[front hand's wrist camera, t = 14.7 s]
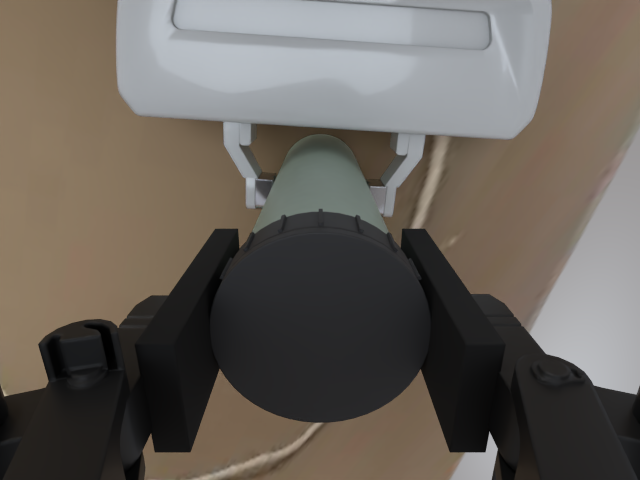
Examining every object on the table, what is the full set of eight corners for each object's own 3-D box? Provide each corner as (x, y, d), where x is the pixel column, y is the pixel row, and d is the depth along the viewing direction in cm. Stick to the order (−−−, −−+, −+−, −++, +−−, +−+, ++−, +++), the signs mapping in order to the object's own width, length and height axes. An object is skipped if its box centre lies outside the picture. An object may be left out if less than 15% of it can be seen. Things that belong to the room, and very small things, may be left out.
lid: (230, 191, 11) (215, 210, 9) (444, 228, 11) (464, 252, 10) (212, 368, 13) (197, 408, 11) (393, 395, 13) (403, 437, 12)
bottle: (288, 127, 28) (230, 216, 10) (364, 141, 28) (445, 252, 10) (278, 201, 30) (211, 392, 12) (349, 213, 30) (393, 418, 12)
